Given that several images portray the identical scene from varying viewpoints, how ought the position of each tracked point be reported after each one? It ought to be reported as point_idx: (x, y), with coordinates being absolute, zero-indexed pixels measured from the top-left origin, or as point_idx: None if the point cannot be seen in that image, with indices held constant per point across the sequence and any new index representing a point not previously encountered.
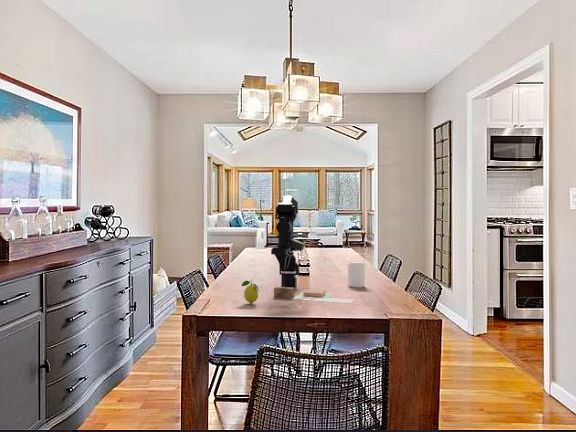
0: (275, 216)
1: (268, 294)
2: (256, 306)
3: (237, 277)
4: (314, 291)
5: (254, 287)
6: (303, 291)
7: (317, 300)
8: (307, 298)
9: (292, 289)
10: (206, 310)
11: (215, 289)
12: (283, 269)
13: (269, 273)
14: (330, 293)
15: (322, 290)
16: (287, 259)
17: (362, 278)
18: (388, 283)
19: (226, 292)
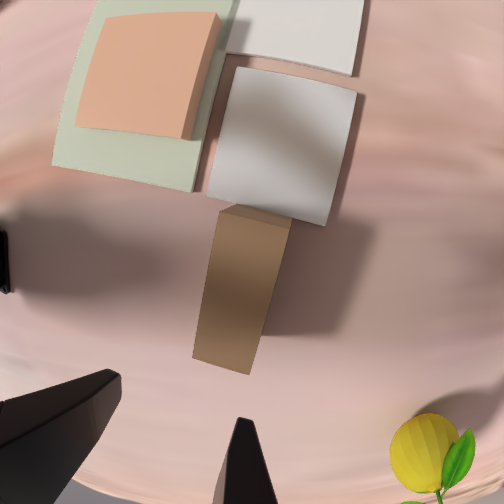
0: None
1: (151, 360)
2: (472, 388)
3: None
4: (143, 67)
5: (453, 465)
6: (55, 164)
7: (342, 42)
8: (289, 104)
9: (281, 226)
10: (474, 483)
11: (128, 492)
12: (252, 437)
13: None
14: (102, 11)
15: (108, 32)
16: (16, 463)
17: None
18: None
19: (164, 484)
